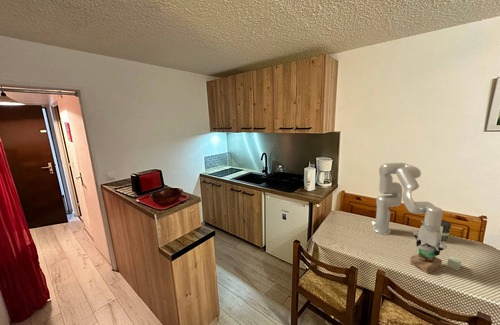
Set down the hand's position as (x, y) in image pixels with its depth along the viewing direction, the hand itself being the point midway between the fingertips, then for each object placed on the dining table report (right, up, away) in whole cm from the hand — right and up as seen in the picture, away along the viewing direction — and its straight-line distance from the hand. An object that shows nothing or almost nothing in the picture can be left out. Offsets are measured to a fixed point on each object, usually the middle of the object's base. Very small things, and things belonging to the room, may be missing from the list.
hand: (427, 250), depth 123 cm
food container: (+1, -6, -1) cm, 6 cm away
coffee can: (+35, -4, +28) cm, 45 cm away
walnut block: (0, -11, +2) cm, 11 cm away
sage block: (+17, -10, 0) cm, 20 cm away
